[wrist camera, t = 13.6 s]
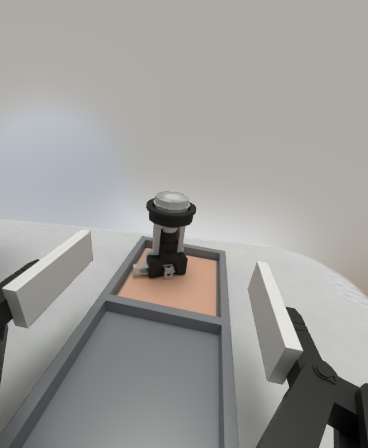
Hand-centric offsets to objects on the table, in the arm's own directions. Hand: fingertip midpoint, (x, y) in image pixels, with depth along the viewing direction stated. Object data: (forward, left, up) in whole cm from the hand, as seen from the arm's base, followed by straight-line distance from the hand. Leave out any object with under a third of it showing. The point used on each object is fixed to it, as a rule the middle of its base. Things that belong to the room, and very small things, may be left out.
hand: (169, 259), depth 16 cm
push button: (-2, +7, -7) cm, 10 cm away
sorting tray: (0, +1, -8) cm, 8 cm away
